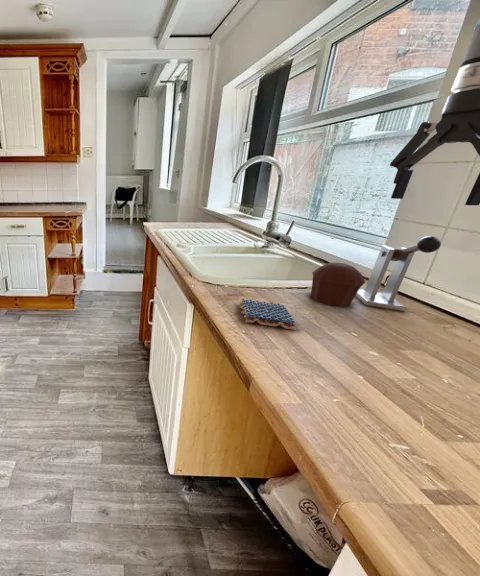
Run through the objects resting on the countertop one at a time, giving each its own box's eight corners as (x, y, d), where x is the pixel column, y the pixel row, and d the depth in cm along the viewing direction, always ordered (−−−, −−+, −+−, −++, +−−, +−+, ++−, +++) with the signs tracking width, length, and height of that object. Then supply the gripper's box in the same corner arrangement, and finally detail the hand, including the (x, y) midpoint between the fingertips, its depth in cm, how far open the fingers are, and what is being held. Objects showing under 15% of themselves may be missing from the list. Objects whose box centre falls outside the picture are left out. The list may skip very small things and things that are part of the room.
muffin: (302, 289, 90) (313, 256, 86) (348, 296, 86) (361, 262, 82) (309, 303, 80) (321, 267, 76) (362, 312, 76) (377, 274, 72)
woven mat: (244, 323, 68) (246, 315, 67) (238, 304, 77) (239, 297, 77) (296, 331, 65) (299, 323, 65) (283, 311, 75) (286, 303, 74)
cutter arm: (444, 251, 65) (446, 235, 65) (422, 249, 66) (425, 233, 66) (399, 263, 79) (401, 250, 79) (382, 261, 80) (384, 248, 81)
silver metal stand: (404, 311, 78) (429, 255, 72) (365, 305, 80) (387, 250, 75) (385, 297, 86) (407, 246, 81) (351, 292, 89) (370, 242, 84)
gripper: (392, 101, 71) (360, 196, 79) (568, 71, 48) (499, 208, 56) (416, 103, 73) (382, 196, 80) (596, 76, 50) (525, 208, 58)
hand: (430, 201), depth 68 cm, fingers open, 13 cm apart
